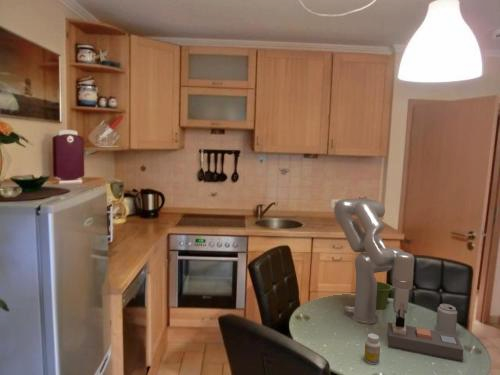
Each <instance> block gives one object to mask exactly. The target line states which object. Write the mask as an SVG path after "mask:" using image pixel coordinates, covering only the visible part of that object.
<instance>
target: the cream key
mask: <svg viewBox="0 0 500 375" xmlns="http://www.w3.org/2000/svg"><path fill="white" fill-rule="evenodd" d="M392 323H393V324H392V333H397V334H403V335H406V326H407V325H406V324H404V328H403V327H397V326H396V323H395V322H392ZM394 323H395V324H394ZM405 325H406V326H405Z"/></svg>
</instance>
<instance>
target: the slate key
mask: <svg viewBox="0 0 500 375" xmlns="http://www.w3.org/2000/svg"><path fill="white" fill-rule="evenodd" d="M440 338H441V341H442V342H446V343H451V344H456V345H457V343H456V340H455V338H453V337H448V336H442V335H440Z"/></svg>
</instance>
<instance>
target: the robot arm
mask: <svg viewBox="0 0 500 375" xmlns="http://www.w3.org/2000/svg"><path fill="white" fill-rule="evenodd" d="M333 207H334V210H333V213H334V216H335V220H336V221H337V223H338V225H339V226H340V228H341V229H342V231H343V233H344V235H345V237H346V241H347V243H348V244H349V247H350V249H351V251H353V252H354V253H360V254H358V255H356V257H355V258H354V267H355V290H354V291H355V294H354V295H355V296H354V305H352V306H349V305H344V310H345V311H346V313H350V317H351V319H352V320H354V321H356V322H357V323H360V324H366V325H373V324H377V323H378V322H379V321H380V320H379V316H378V315H377V314H376V313H377V311H376V310H377V309H376V298H377V282H378V281H377V279H376V277H375V275H374V274H376V273H385V272H389V271H390V270H392V268H393V270H392V287H394V291H393V304H392V305H393V311H394V313H396V315H395V324H396V326H397V327H403V328H404V325H405V320H406V319H405V315H406V314H408V309H409V308H408V307H409V296H410V290H412V289H413V283H414V268H415V266H414V265H415V256H414V255H413V254H412V253H410V252H405V251H404V250H403V249H401V248H399V247H396V246H395V247H387V246H386V244H385V242H384V240H383V238H382V237H381V236H380V234H381V233H382V232H383V230H384V229H385V226H384V223H383V222H382V220H381V218H383V216H384V215H385V213H386V210H385V205H384V204H383V203H382V202H381V201H380V200H374V199H369V198H368V199H367V198H343V199H339V200H338V201H336V203H335V205H334V206H333ZM353 216H356V217H357V219H358V221H359V222H358V221H357V220H356V219H355V218H353Z"/></svg>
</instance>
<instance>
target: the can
mask: <svg viewBox="0 0 500 375" xmlns="http://www.w3.org/2000/svg"><path fill="white" fill-rule="evenodd" d="M457 318H458V311H457V308H456V307H455V306H453V305H451V304H448V303H441V304H439V306H438V307H437V314H436V325H435V329H436V330H435V331H440V332H445V333H451V334H456V332H457V320H458V319H457Z"/></svg>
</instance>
